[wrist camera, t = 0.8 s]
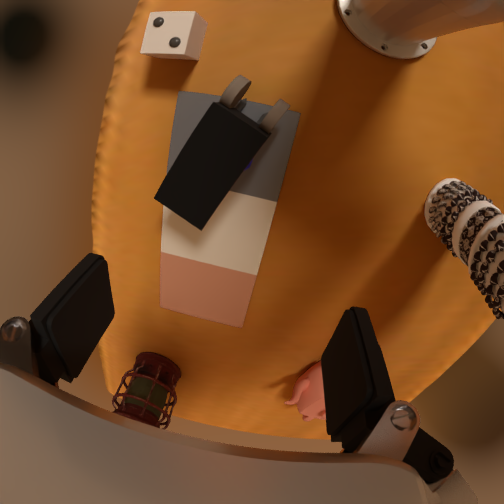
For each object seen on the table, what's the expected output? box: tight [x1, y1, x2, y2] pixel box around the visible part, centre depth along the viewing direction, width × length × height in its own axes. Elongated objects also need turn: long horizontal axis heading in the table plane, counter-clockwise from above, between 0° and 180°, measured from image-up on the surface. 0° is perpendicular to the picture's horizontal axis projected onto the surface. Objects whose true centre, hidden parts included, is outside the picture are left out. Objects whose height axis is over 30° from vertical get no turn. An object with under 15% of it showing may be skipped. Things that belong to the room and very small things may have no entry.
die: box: [140, 11, 208, 61], centre depth 22 cm, size 5×5×5 cm
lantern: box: [112, 352, 181, 429], centre depth 41 cm, size 12×12×30 cm
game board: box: [160, 91, 301, 328], centre depth 36 cm, size 33×14×1 cm, turn 168°
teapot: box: [284, 360, 326, 421], centre depth 45 cm, size 14×12×10 cm
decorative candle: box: [424, 178, 504, 319], centre depth 20 cm, size 9×9×25 cm
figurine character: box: [154, 75, 290, 231], centre depth 27 cm, size 7×8×15 cm
